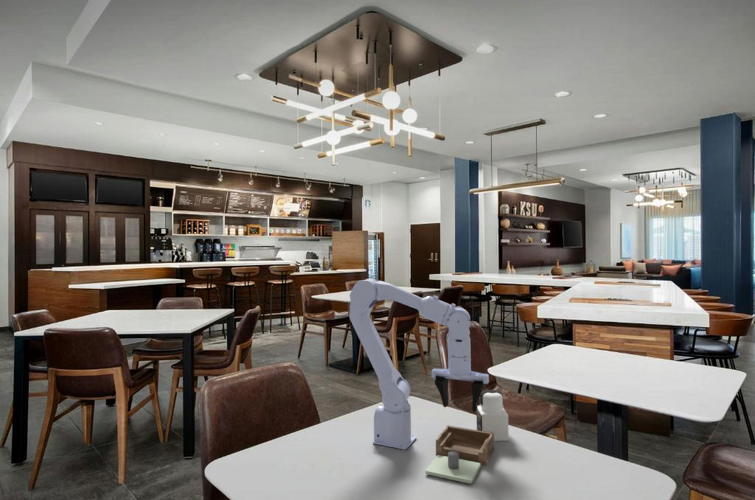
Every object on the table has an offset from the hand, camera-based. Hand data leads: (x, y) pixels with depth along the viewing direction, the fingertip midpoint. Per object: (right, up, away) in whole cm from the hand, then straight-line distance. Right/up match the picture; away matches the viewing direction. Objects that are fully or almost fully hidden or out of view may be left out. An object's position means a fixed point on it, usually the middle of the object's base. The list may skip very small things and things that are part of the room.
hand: (460, 408), depth 114 cm
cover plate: (-4, -10, -13) cm, 17 cm away
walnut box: (+1, -10, -4) cm, 11 cm away
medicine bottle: (+10, -10, +6) cm, 15 cm away
